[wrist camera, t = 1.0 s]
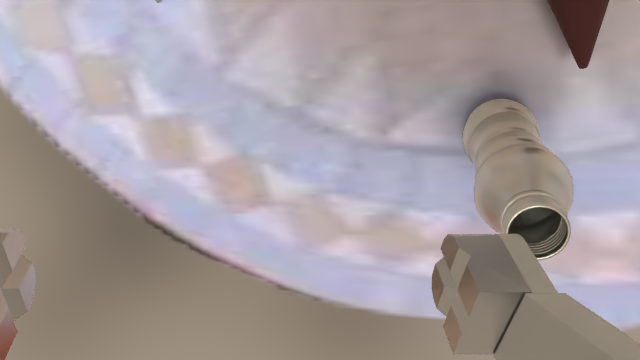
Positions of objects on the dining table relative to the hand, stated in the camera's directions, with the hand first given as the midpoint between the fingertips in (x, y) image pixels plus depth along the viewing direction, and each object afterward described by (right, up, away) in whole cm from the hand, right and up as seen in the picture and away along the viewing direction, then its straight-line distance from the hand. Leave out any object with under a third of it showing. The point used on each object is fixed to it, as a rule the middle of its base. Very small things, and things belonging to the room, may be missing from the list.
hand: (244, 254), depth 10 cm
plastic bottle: (+18, +6, +37) cm, 42 cm away
